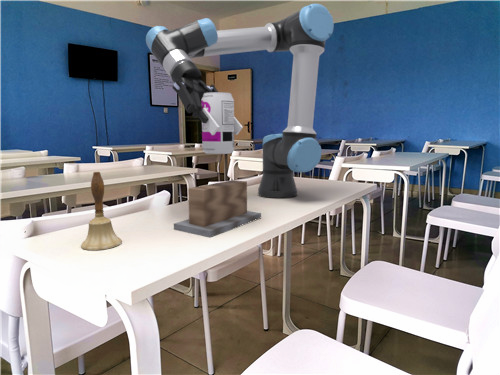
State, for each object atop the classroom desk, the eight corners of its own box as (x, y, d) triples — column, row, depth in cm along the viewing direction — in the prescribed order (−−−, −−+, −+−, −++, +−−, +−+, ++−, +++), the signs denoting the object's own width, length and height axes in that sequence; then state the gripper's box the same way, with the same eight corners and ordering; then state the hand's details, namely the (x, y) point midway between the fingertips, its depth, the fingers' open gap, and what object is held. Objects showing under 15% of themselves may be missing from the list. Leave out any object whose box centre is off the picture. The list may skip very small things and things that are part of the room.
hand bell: (75, 244, 76) (69, 172, 74) (112, 236, 82) (108, 169, 80) (89, 253, 71) (83, 175, 68) (128, 244, 76) (124, 172, 74)
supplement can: (205, 154, 86) (204, 91, 83) (200, 152, 93) (199, 94, 91) (237, 153, 88) (237, 92, 85) (230, 151, 96) (229, 95, 93)
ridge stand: (227, 212, 106) (227, 178, 104) (261, 218, 99) (261, 181, 97) (173, 229, 88) (172, 188, 86) (209, 237, 81) (209, 192, 80)
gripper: (203, 86, 105) (245, 140, 98) (144, 78, 89) (190, 142, 81) (216, 65, 101) (261, 120, 94) (156, 53, 84) (205, 119, 77)
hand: (228, 131), depth 88 cm, fingers closed on supplement can, 8 cm apart
